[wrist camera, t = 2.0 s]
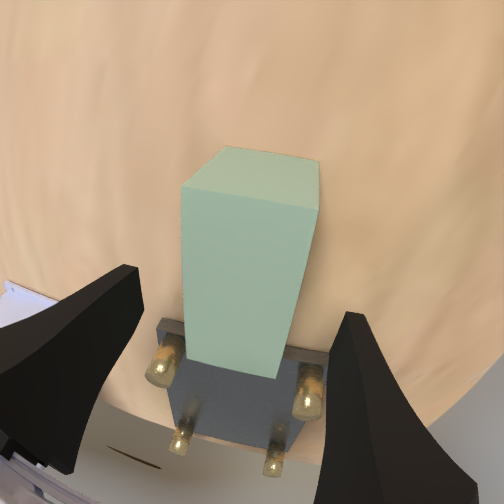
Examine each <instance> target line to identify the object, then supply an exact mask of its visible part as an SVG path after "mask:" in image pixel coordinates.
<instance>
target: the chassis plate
mask: <svg viewBox="0 0 504 504" xmlns="http://www.w3.org/2000/svg"><path fill="white" fill-rule="evenodd" d="M156 330H157V337H158V343H159V348H158V350H157V352H156V354H155V356H154V358H153V360H152V361H151V363H150V365H149V367H148V369H147V371H146V373H145V377H146V379H147V380H148V381H149V382H150V383H151V384H153V385H155V386H157V387H160V388H167V392H168V396H169V401H170V406H171V410H172V415H173V419H174V424H175V427H177V428H176V430H175V434H174V436H173V438H172V441H171V443H170V446H169V449H168V450H169V451H170V452H171V453H173V454H176V455H178V456H185V455H186V452H187V449H188V446H189V443H190V440H191V437H192V434H193V432H195V433H199V434H202V435H206V436H210V437H214V438H218V439H222V440H226V441H230V442H235V443H239V444H244V445H249V446H254V447H259V448H264V449H268V450H267V455H266V460H265V465H264V470H263V475H265V476H268V477H280V476H281V471H282V466H283V460H284V454H285V452H288V451H289V449H290V447H291V446H292V444H293V442H294V441H295V439H296V437H297V436H298V434H299V432H300V430H301V429H302V427H303V425H304V423H305V421H313V420H316V419H318V418H319V417H320V416H321V406H322V392H323V388H324V386H325V384H326V382H327V370H328V361H329V353H324V352H318V351H312V350H306V349H300V348H295V347H289V346H285V348H284V351H283V355H282V358H281V362H280V365H279V369H278V372H277V376H276V379H273V378H268V377H263V376H258V375H253V374H248V373H244V372H239V371H235V370H230V369H226V368H222V367H218V366H214V365H210V364H206V363H202V362H198V361H194V360H190V359H187V354H186V340H185V325H184V323H181V322H177V321H173V320H169V319H166V318H162V319H161V321H160V322H159V324H158V326H157V328H156Z"/></svg>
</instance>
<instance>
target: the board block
mask: <svg viewBox="0 0 504 504" xmlns="http://www.w3.org/2000/svg"><path fill="white" fill-rule="evenodd" d="M318 212H319V161H314V160H309V159H304V158H298V157H293V156H287V155H281V154H275V153H269V152H263V151H256V150H249V149H242V148H235V147H228V146H226V147H225V148H223V149H222V150H221V151H220V152H219V153H218V154H217V155H215V156H214V157H213V158H212V159H211V160H210V161H209V162H207V163H206V164H205V165H204V166H203V167H202V168H201V169H200V170H199V171H197V172H196V173H195V174H194V175H193V176H192V177H191V178H190V179H189V180H188V181H186V182H185V183H184V184H183V185H182V186H181V250H182V283H183V306H184V325H185V340H186V354H187V359H190V360H194V361H198V362H202V363H206V364H210V365H214V366H218V367H222V368H226V369H230V370H235V371H239V372H244V373H248V374H253V375H258V376H263V377H268V378H273V379H276V376H277V372H278V369H279V365H280V362H281V358H282V355H283V351H284V348H285V344H286V341H287V337H288V333H289V330H290V326H291V322H292V318H293V315H294V311H295V307H296V303H297V299H298V296H299V292H300V288H301V284H302V280H303V276H304V272H305V268H306V263H307V259H308V255H309V251H310V247H311V242H312V238H313V234H314V229H315V225H316V221H317V216H318Z"/></svg>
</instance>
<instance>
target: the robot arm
mask: <svg viewBox="0 0 504 504" xmlns="http://www.w3.org/2000/svg"><path fill="white" fill-rule="evenodd" d="M4 286H5V289H6V292H5V293H4V294H3V295H2V296H1V297H0V504H54V503H52V502H51V501H49V500H47V499H45V498H44V495H43V491H44V492H46V493H48V494H49V495H51V496H53V497H54V498H56V499H57V500H59V501H61V502H63V503H64V504H101V503H99V502H97V501H95V500H93V499H91V498H89V497H87V496H85V495H83V494H82V493H80V492H78V491H76V490H74V489H72V488H71V487H68V486H67V485H65V484H64V483H62V482H60V481H58V480H56V479H55V478H53V477H52V476H50V475H48V474H47V473H45V472H44V471H43V470H44V468H45V467H47V466H48V465H49V466H51V467H52V468H54V469H56V470H57V471H59V472H61V473H63V474H64V475H68V474H71V473H73V472H74V467H75V463H76V459H77V455H78V450H79V447H80V443H81V440H82V436H83V434H84V431H85V427H86V424H87V422H88V419H89V416H90V414H91V411H92V409H93V406H94V403H95V401H96V399H97V397H98V394H99V392H100V390H101V388H102V386H103V384H104V382H105V380H106V378H107V376H108V375H109V373H110V371H111V370H112V368H113V366H114V365H115V363H116V361H117V360H118V358H119V357H120V355H121V353H122V352H123V350H124V348H125V347H126V345H127V343H128V342H129V340H130V339H131V337H132V335H133V334H134V332H135V330H136V327H137V325H138V323H139V321H140V319H141V316H142V314H143V312H144V304H143V298H142V291H141V285H140V278H139V270H138V267H134V266H130V265H126V264H123V265H121V266H119V267H117V268H115V269H114V270H112V271H110V272H108V273H107V274H105V275H103V276H102V277H100V278H99V279H97V280H95V281H94V282H92V283H90V284H89V285H87V286H85V287H84V288H82V289H80V290H79V291H77V292H75V293H74V294H72V295H70V296H68V297H67V298H65V299H63V300H61V301H60V302H58V301H56V300H53V299H51V298H48V297H46V296H43V295H41V294H38V293H36V292H33V291H31V290H28V289H26V288H24V287H21V286H19V285H16V284H14V283H12V282H10V281H6V282H5V283H4ZM42 490H43V491H42ZM313 504H479V496H478V487H477V483H476V482H475V481H474V480H473V479H472V478H471V477H469V476H468V475H467V474H466V473H465V472H464V471H463V470H462V469H461V468H460V467H459V466H458V465H457V464H456V463H455V462H454V461H453V460H452V459H451V458H450V457H449V456H448V454H447V453H446V452H445V451H444V450H443V449H442V448H441V446H440V445H439V444H438V443H437V442H436V440H435V439H434V438H433V437H432V435H431V434H430V433H429V431H428V430H427V429H426V427H425V426H424V425H423V423H422V422H421V421H420V419H419V418H418V416H417V415H416V413H415V412H414V410H413V409H412V407H411V406H410V404H409V403H408V401H407V399H406V398H405V396H404V394H403V392H402V391H401V389H400V387H399V385H398V384H397V382H396V380H395V378H394V376H393V374H392V372H391V370H390V368H389V366H388V364H387V362H386V360H385V358H384V356H383V354H382V352H381V350H380V348H379V346H378V344H377V342H376V339H375V337H374V335H373V333H372V331H371V328H370V326H369V324H368V322H367V320H366V317H365V316H364V314H359V313H354V312H348V311H346V313H345V316H344V318H343V321H342V323H341V325H340V328H339V330H338V333H337V335H336V338H335V340H334V342H333V345H332V347H331V349H330V353H329V361H328V370H327V389H326V436H325V447H324V453H323V459H322V465H321V471H320V476H319V481H318V486H317V491H316V496H315V499H314V503H313Z"/></svg>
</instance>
